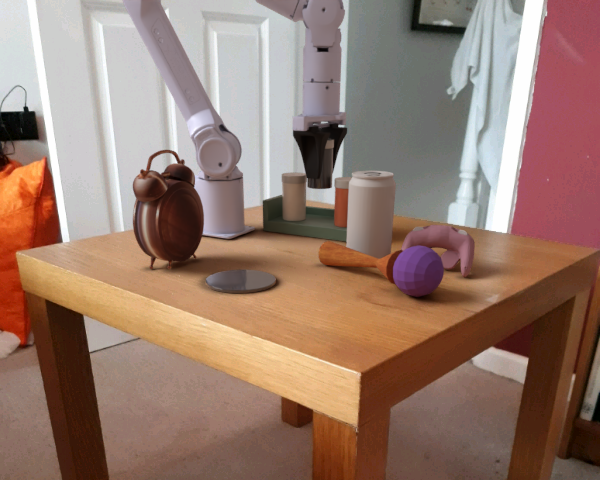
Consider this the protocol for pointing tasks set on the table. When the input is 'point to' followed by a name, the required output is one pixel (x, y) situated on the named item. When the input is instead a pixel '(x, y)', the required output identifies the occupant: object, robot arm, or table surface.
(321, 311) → the table surface
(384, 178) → the beverage can
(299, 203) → the salt shaker
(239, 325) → the table surface
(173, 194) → the alarm clock
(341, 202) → the paprika shaker
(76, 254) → the table surface
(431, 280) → the kendama
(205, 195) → the robot arm
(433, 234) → the video game controller
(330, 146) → the pepper shaker
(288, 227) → the spice rack
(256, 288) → the coaster
